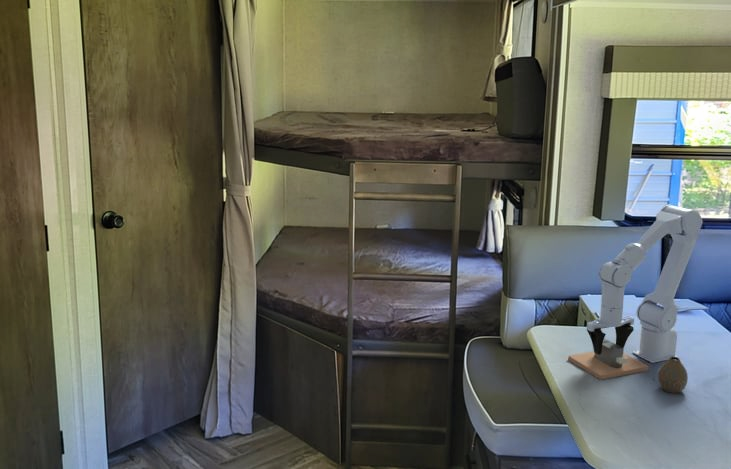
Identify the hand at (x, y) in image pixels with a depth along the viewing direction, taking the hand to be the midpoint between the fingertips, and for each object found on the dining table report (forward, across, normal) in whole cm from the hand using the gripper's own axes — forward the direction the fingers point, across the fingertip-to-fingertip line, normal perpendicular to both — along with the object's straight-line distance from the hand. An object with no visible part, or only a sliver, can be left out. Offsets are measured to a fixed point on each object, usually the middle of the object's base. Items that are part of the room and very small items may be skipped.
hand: (608, 351), depth 184 cm
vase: (+4, -5, +18) cm, 20 cm away
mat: (+4, 0, 0) cm, 4 cm away
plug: (+3, 0, 0) cm, 3 cm away
